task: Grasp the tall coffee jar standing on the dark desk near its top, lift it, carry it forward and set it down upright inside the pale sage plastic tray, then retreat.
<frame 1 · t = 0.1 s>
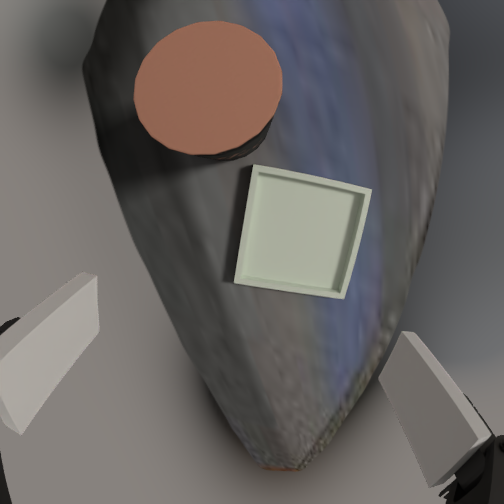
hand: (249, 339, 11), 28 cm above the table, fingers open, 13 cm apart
sage tray: (301, 233, 38), on the table
coffee jar: (227, 120, 34), on the table
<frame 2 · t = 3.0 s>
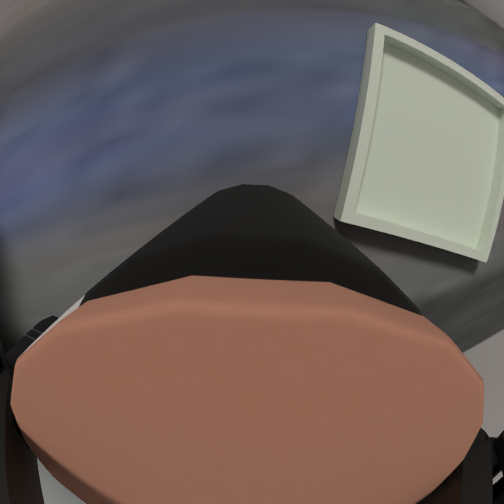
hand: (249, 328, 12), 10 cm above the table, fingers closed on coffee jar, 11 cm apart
sage tray: (438, 148, 19), on the table
coffee jar: (251, 255, 22), on the table, touching gripper
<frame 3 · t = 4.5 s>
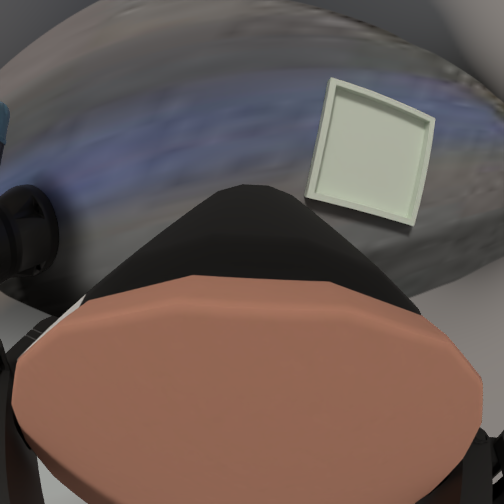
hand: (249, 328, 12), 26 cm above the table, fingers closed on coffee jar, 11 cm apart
sage tray: (373, 153, 34), on the table
coffee jar: (251, 255, 22), point 16 cm above the table, touching gripper
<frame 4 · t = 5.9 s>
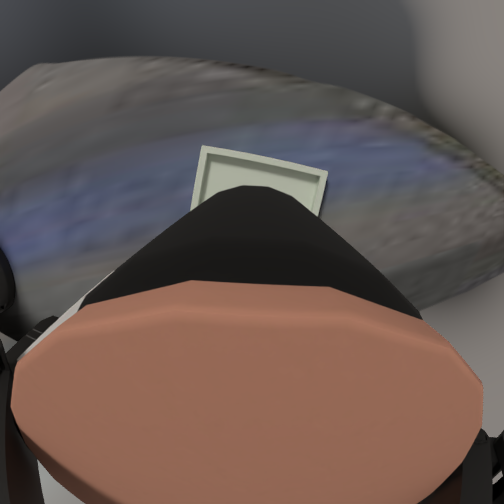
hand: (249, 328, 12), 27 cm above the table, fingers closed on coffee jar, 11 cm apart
sage tray: (252, 216, 37), on the table
coffee jar: (251, 256, 22), point 16 cm above the table, touching gripper
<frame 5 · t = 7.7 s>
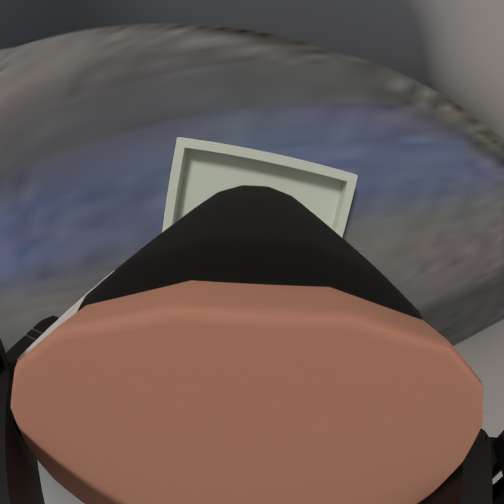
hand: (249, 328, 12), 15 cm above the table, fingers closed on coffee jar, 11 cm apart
sage tray: (250, 237, 27), on the table
coffee jar: (251, 256, 22), point 5 cm above the table, touching gripper
when the fingers open (12 cm above the table, at t = 9.1 s): coffee jar drops 1 cm, resting on sage tray.
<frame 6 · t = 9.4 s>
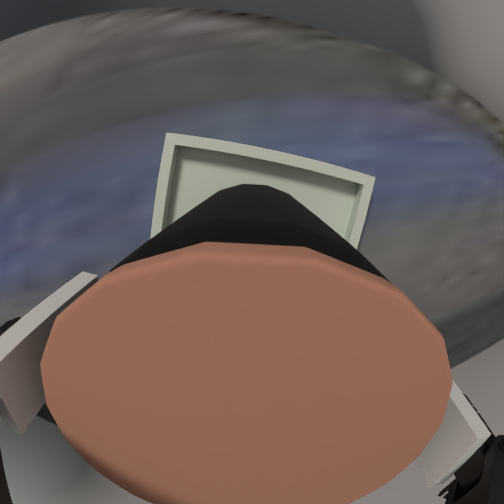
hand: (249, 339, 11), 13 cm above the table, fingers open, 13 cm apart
sage tray: (251, 248, 23), on the table
coffee jar: (251, 250, 23), resting on sage tray
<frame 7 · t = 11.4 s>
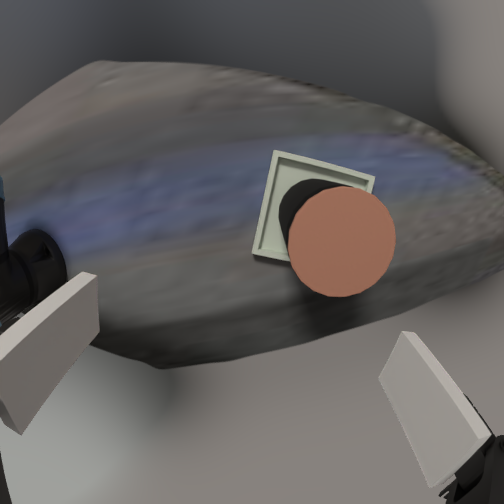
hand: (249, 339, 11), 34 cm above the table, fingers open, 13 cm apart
sage tray: (312, 212, 43), on the table
coffee jar: (312, 213, 43), resting on sage tray
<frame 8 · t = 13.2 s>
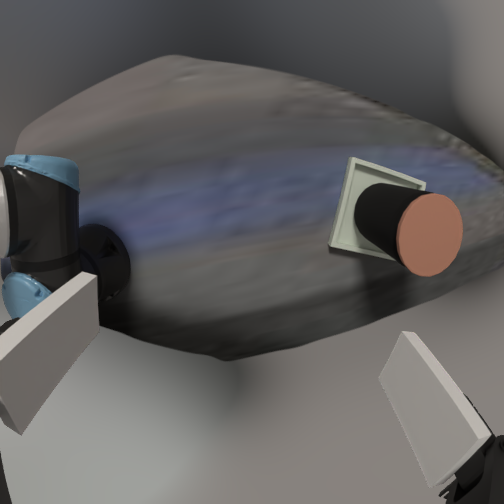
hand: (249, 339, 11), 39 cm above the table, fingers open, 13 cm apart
sage tray: (378, 211, 48), on the table
coffee jar: (378, 211, 48), resting on sage tray
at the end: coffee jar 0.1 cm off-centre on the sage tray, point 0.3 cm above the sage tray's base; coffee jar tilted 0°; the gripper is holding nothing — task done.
